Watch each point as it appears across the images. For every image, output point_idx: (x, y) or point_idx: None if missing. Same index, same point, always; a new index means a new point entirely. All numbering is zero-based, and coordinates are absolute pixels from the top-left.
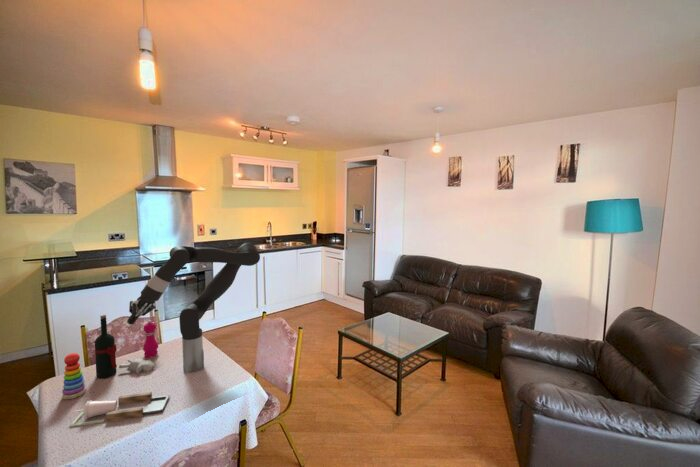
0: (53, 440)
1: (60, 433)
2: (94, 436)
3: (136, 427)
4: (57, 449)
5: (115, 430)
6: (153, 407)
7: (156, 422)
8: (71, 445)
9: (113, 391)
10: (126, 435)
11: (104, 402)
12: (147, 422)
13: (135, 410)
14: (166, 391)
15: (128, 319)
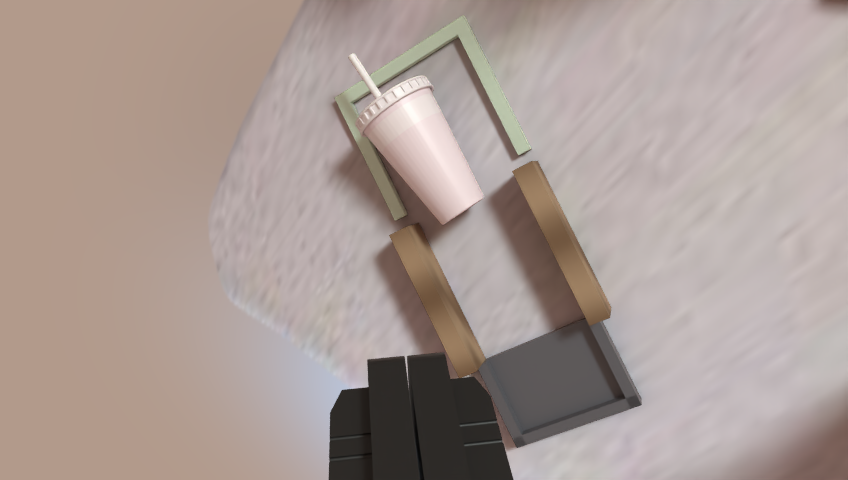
0: (270, 119)
1: (303, 102)
2: (325, 263)
3: None
4: (245, 188)
5: (372, 318)
6: (536, 377)
7: None
8: (271, 220)
9: (627, 8)
10: None
11: (422, 174)
12: None
13: (448, 352)
14: (698, 339)
15: (330, 439)
